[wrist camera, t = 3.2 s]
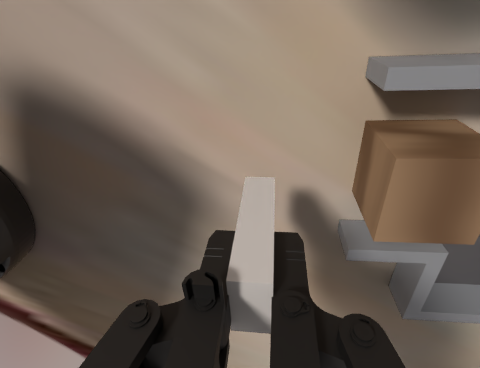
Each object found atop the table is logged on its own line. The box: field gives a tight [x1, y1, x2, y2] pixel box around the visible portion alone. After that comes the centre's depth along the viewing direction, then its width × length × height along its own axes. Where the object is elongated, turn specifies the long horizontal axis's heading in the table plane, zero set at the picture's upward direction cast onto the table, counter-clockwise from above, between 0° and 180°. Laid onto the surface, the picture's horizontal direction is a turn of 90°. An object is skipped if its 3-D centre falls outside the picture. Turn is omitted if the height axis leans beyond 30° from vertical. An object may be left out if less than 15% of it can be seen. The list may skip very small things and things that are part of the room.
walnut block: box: [352, 120, 480, 245], centre depth 16 cm, size 5×5×5 cm
